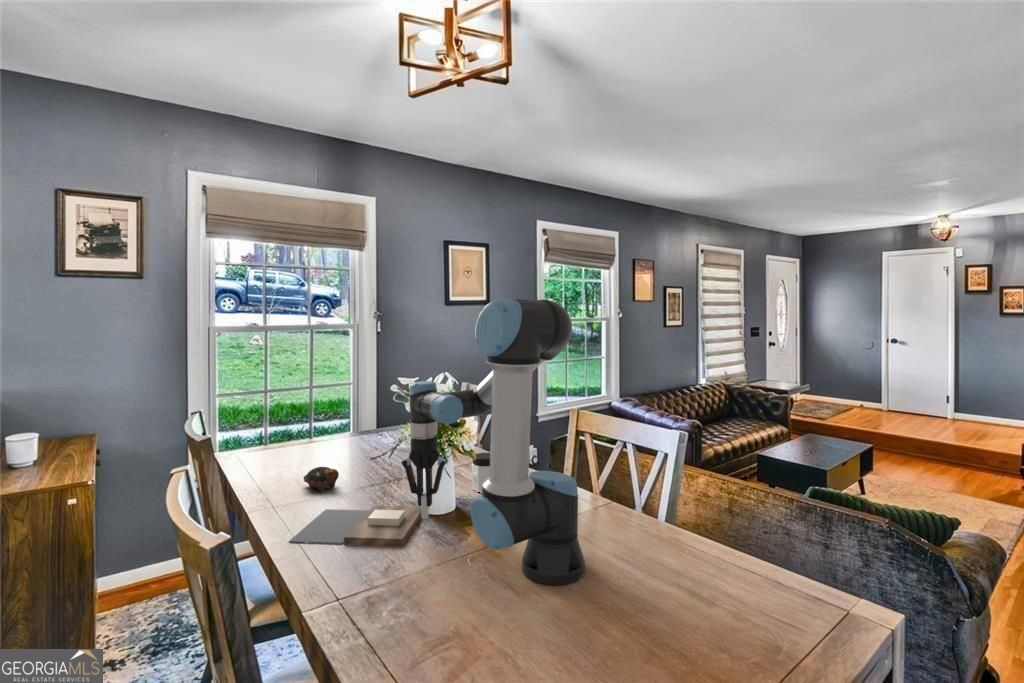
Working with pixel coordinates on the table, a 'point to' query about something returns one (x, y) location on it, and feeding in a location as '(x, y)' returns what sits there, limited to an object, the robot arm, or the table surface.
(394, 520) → the cream rectangular block
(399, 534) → the serving board
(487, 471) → the jar
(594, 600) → the table surface
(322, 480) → the decorative turtle
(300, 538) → the place mat
